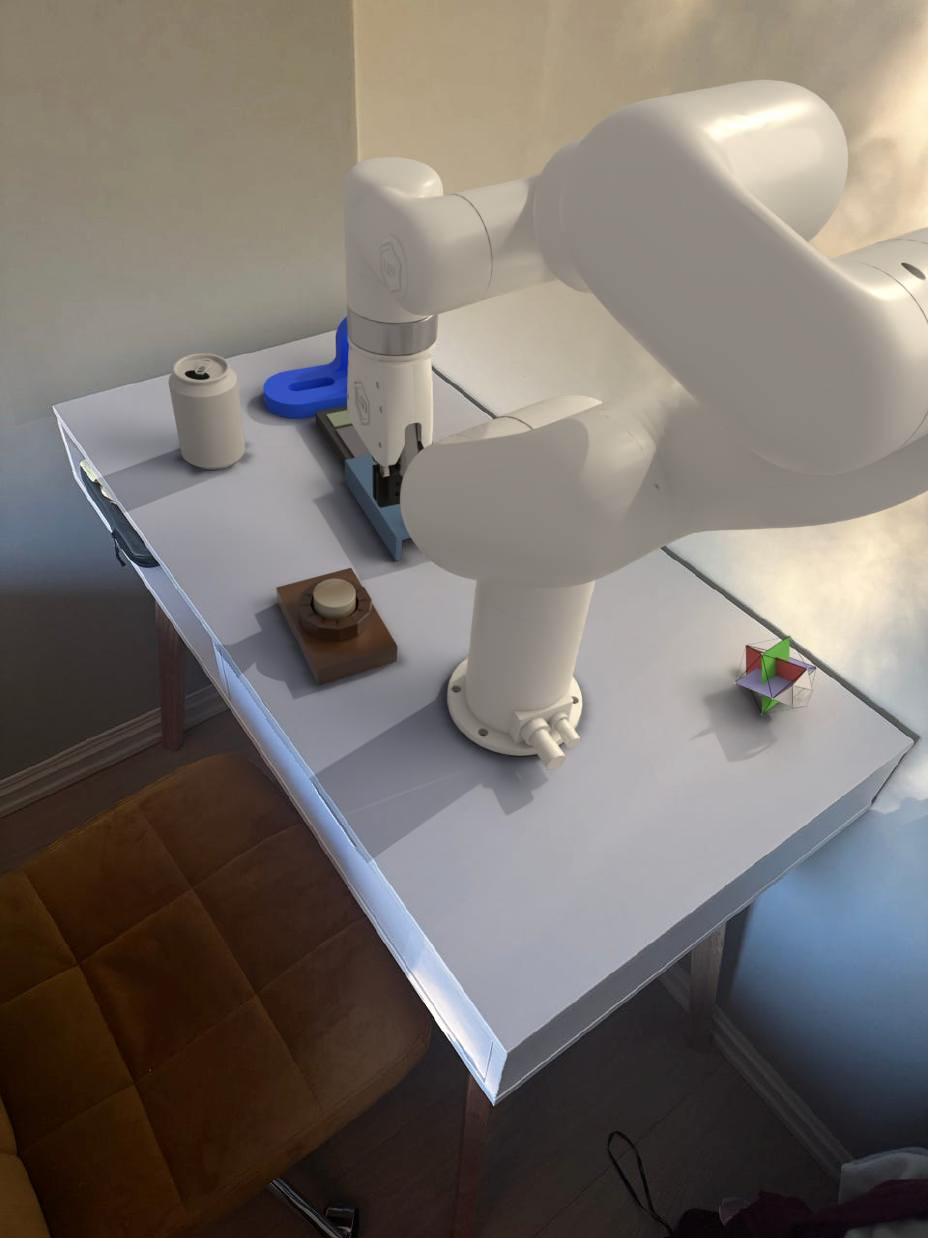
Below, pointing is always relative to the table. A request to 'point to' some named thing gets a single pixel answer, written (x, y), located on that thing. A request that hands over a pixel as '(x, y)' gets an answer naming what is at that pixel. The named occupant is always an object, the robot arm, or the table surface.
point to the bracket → (311, 384)
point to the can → (207, 411)
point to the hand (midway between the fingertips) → (390, 499)
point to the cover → (384, 518)
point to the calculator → (340, 434)
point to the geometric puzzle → (777, 676)
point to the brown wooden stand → (336, 631)
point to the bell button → (334, 599)
